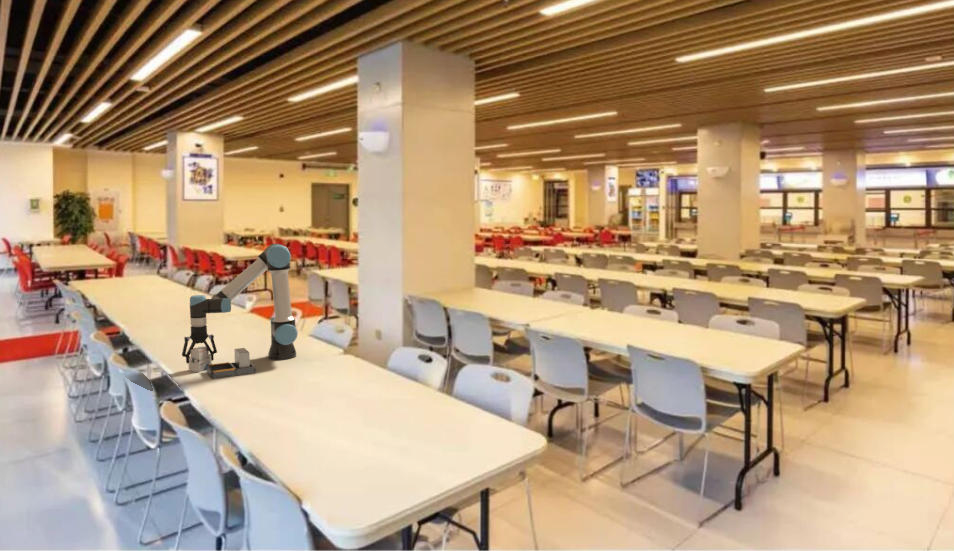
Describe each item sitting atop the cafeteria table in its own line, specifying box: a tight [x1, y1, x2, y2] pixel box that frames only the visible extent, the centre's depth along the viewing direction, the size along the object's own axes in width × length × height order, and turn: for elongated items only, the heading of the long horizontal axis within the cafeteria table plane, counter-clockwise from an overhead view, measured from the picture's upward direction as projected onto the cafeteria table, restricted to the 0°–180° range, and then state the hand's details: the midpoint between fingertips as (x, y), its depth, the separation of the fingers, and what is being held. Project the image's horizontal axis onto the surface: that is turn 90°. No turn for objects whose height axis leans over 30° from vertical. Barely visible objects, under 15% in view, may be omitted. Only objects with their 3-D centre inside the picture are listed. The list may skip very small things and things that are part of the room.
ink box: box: [190, 345, 210, 373], centre depth 311 cm, size 9×5×12 cm, turn 168°
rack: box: [205, 347, 257, 380], centre depth 307 cm, size 21×15×11 cm
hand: (200, 367), depth 311 cm, fingers closed on ink box, 9 cm apart
